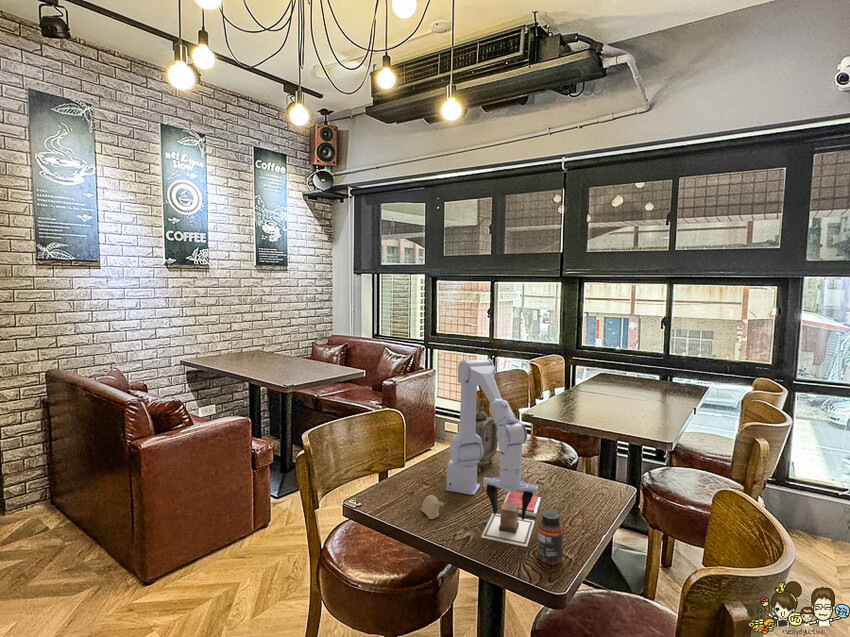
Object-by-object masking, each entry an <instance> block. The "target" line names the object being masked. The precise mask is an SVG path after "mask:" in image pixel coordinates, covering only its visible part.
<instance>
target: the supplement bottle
mask: <svg viewBox="0 0 850 637" xmlns="http://www.w3.org/2000/svg"><path fill="white" fill-rule="evenodd" d="M541 517H542V519H541V520H539V522H538V523H537V524H538V526H537V527H538V528H537V557H538V559H539V560H540V562H542V563H544V564H547V565H551V566H553V565H558V564H560V563H562V561H563V556H564V552H563V550H564V526H563V524H562V522H561V521H560V515H559V513H558V512H556V511H553V510H545V511H544V512H543V513H542V516H541Z"/></svg>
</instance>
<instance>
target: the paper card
mask: <svg viewBox="0 0 850 637" xmlns="http://www.w3.org/2000/svg"><path fill="white" fill-rule="evenodd" d="M500 519H501V513H496V514H493V513H492V514H491V516H490V518H489V519H488V522H487V524H486V527H485V528H484V531H483V533H482V534H481V536H480V537H481V539H485V538H486V539H485V540H491V541H496V542H501V543H505V544H511V545H515V546H518V547H519V546H520V547H525V548H527V547H528V546H529V542H530V538H531V535H532V533H533V532H532V531H533V528H534V525H535V522H536V521H535V520H533V519H527V518H525V519H524V520H522V519H521V517H518V522H519V526H518V529H517V532H516V534H514V533H509V532H504V531H499V526H500Z"/></svg>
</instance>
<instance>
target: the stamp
mask: <svg viewBox="0 0 850 637" xmlns="http://www.w3.org/2000/svg"><path fill="white" fill-rule="evenodd" d="M500 514H501V519H500V526H499V531H504V532H509V533H514V534H516V532H517V529H518V526H519V522H518V518H519V514H518V505H515V504H509V503H504V502H503V503H502V505H501V508H500Z"/></svg>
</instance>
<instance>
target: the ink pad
mask: <svg viewBox="0 0 850 637" xmlns="http://www.w3.org/2000/svg"><path fill="white" fill-rule="evenodd" d="M522 496H523V493H522V492H516V491H507V495H506V497H505V499H504V501H503V503H509V504H515V505H518V515H520V516H521V515H522ZM541 501H542V497H541V496H537V495H533V496H532V499H531V501H530V503H529V505H528V507H527V510H526V514H525V517H533V518H537V515H538V512H539V508H540V505H541Z"/></svg>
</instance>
